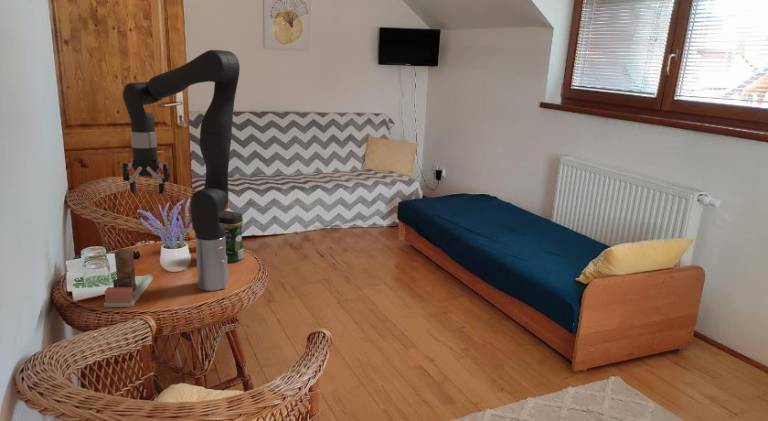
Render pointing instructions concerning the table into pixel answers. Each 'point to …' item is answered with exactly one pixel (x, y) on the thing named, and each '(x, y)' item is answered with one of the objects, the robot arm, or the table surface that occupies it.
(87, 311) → the table surface
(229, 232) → the coffee jar
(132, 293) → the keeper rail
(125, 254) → the chain block
